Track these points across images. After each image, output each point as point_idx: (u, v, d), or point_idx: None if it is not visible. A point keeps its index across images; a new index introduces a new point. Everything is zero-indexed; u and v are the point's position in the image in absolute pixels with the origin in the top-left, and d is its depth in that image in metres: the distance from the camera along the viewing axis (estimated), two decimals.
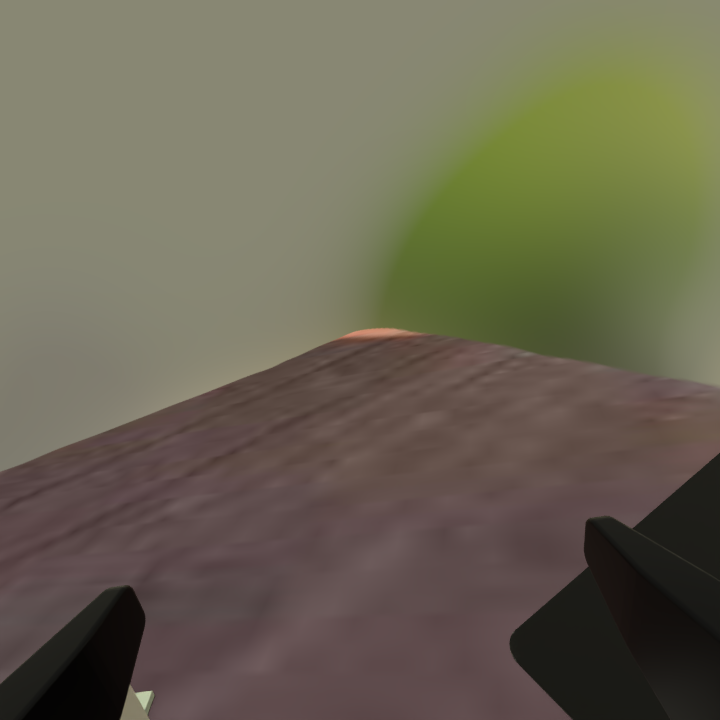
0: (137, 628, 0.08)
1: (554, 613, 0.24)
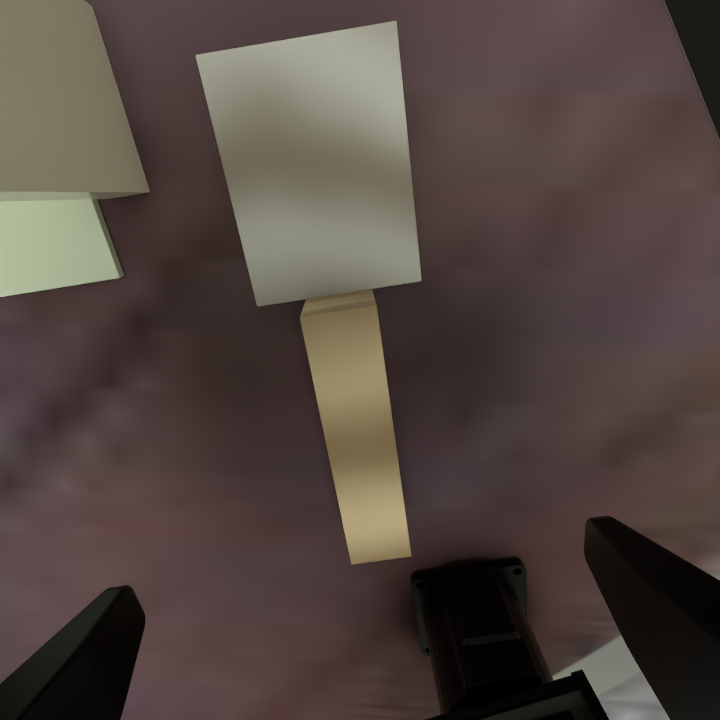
0: (137, 628, 0.08)
1: None
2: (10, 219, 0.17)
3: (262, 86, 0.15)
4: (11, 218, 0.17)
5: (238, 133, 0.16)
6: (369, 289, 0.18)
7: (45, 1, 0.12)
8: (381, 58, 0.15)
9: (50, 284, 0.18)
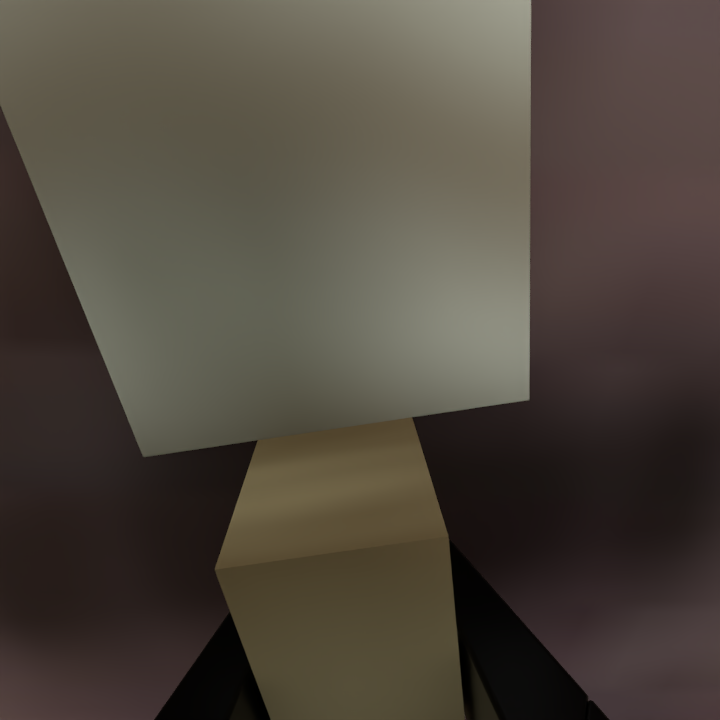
0: None
1: None
2: None
3: None
4: None
5: (36, 14, 0.05)
6: (406, 420, 0.08)
7: None
8: None
9: None
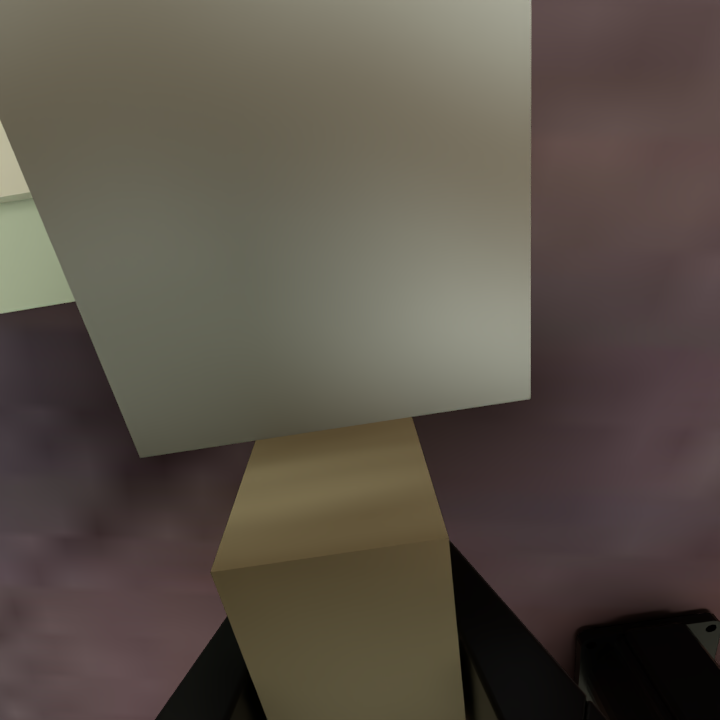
0: None
1: None
2: None
3: None
4: None
5: (28, 8, 0.05)
6: (406, 419, 0.07)
7: None
8: None
9: None
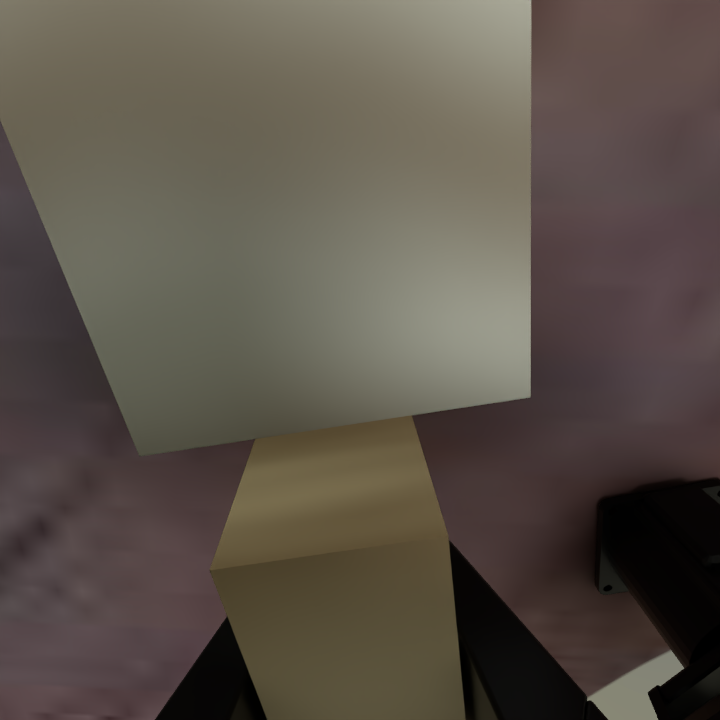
0: None
1: None
2: None
3: None
4: None
5: (26, 5, 0.05)
6: (406, 418, 0.07)
7: None
8: None
9: None
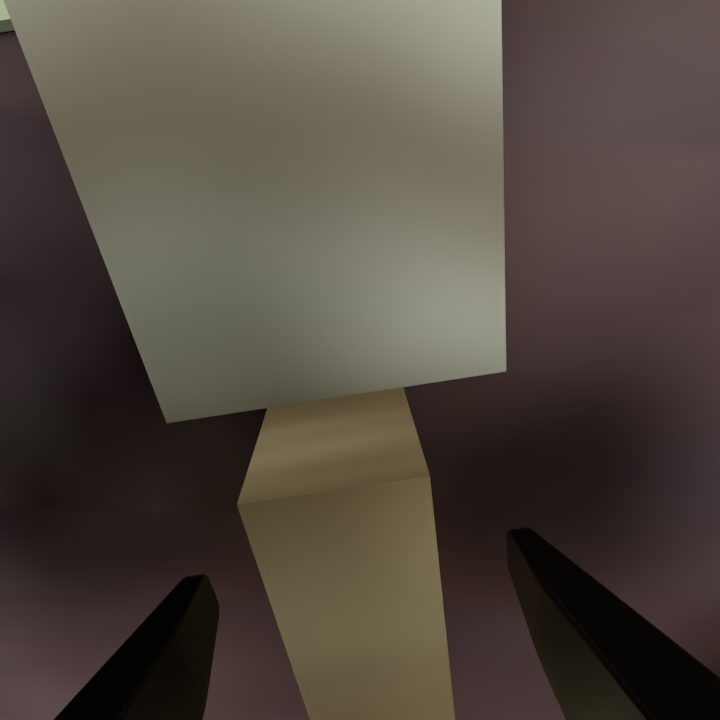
0: (213, 617, 0.08)
1: None
2: None
3: None
4: None
5: (79, 38, 0.06)
6: (398, 389, 0.09)
7: None
8: None
9: None
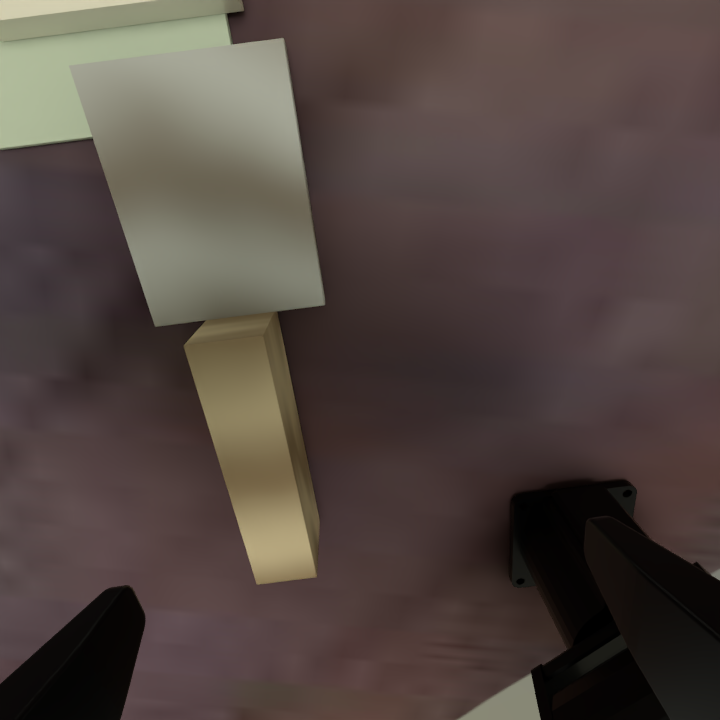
0: (137, 628, 0.08)
1: None
2: (126, 33, 0.14)
3: (144, 101, 0.14)
4: (128, 31, 0.14)
5: (122, 150, 0.15)
6: (271, 312, 0.17)
7: None
8: (269, 77, 0.14)
9: None
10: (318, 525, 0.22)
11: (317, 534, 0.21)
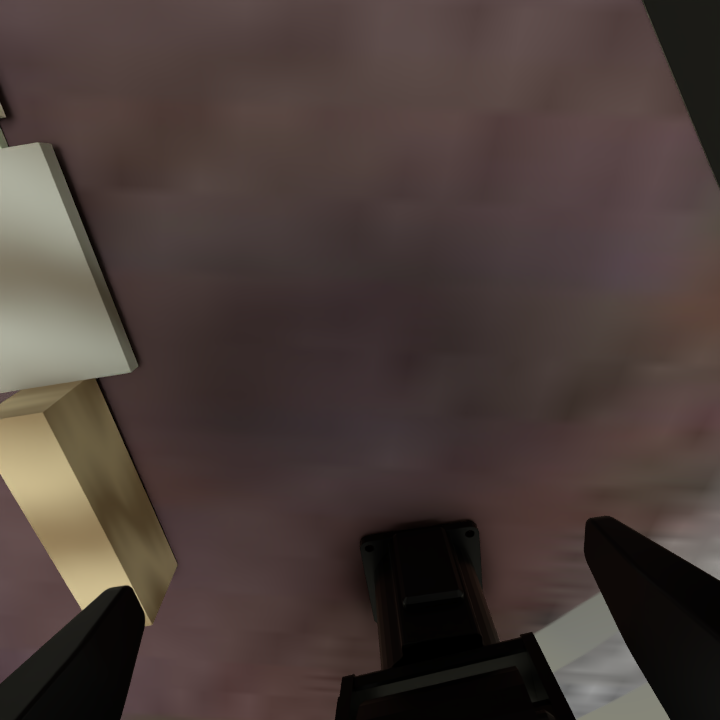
0: (137, 628, 0.08)
1: None
2: None
3: None
4: None
5: None
6: (80, 380, 0.18)
7: None
8: (33, 176, 0.15)
9: None
10: (171, 570, 0.23)
11: (166, 580, 0.22)
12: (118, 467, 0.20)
